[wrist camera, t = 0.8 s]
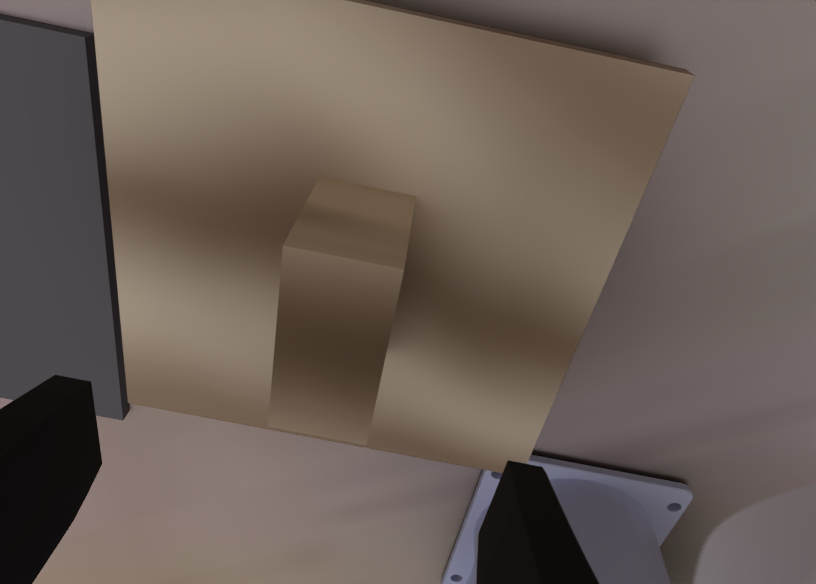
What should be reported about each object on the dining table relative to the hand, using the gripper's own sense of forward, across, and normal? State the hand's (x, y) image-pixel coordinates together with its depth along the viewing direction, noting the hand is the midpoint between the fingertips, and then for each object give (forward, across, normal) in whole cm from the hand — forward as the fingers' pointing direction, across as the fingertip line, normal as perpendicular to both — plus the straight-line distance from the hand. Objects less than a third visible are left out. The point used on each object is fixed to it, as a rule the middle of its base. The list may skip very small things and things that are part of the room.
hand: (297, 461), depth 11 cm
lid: (+7, 0, 0) cm, 7 cm away
